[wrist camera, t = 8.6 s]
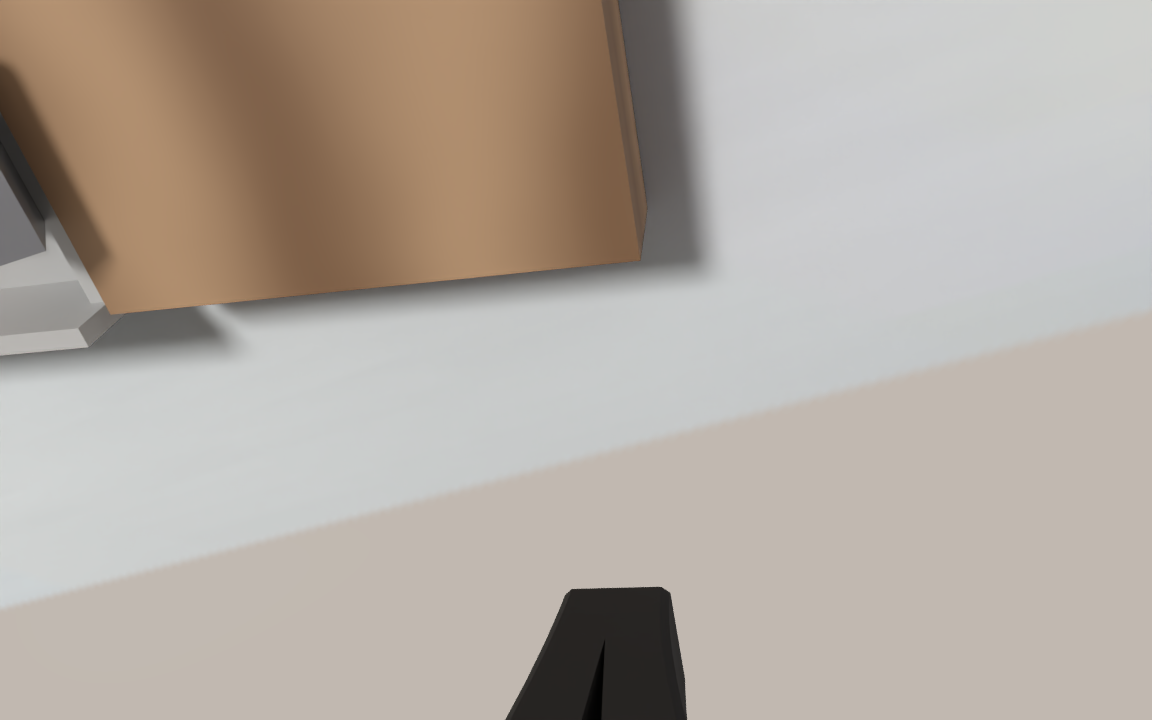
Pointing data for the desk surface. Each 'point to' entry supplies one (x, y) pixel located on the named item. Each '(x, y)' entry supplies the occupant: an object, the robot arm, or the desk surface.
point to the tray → (47, 284)
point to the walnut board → (324, 141)
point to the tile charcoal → (18, 216)
